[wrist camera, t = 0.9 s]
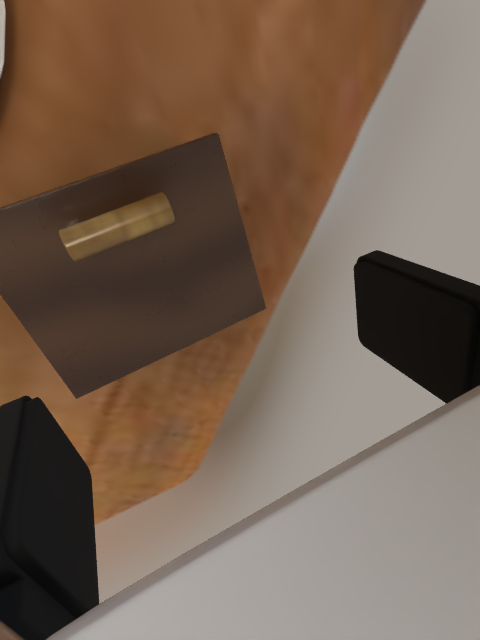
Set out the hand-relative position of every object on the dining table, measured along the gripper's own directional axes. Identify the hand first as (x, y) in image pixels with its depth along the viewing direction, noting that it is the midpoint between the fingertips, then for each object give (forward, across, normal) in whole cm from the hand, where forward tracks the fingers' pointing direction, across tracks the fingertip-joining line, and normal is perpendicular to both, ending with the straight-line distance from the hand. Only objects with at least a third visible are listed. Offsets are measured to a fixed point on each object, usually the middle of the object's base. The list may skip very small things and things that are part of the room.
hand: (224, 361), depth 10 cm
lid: (+18, +1, +3) cm, 18 cm away
